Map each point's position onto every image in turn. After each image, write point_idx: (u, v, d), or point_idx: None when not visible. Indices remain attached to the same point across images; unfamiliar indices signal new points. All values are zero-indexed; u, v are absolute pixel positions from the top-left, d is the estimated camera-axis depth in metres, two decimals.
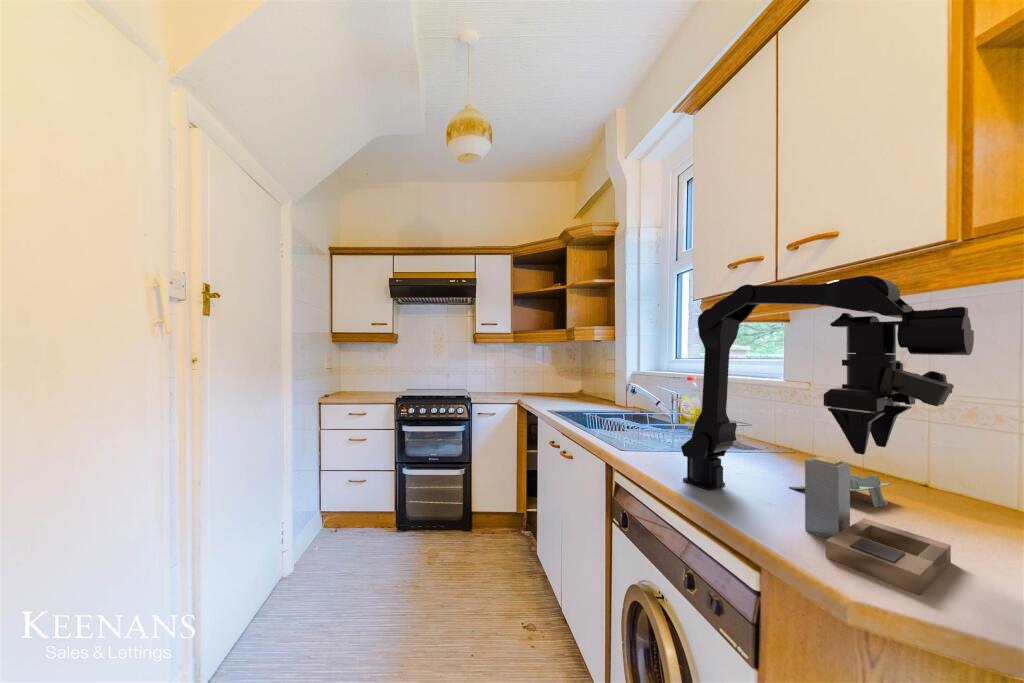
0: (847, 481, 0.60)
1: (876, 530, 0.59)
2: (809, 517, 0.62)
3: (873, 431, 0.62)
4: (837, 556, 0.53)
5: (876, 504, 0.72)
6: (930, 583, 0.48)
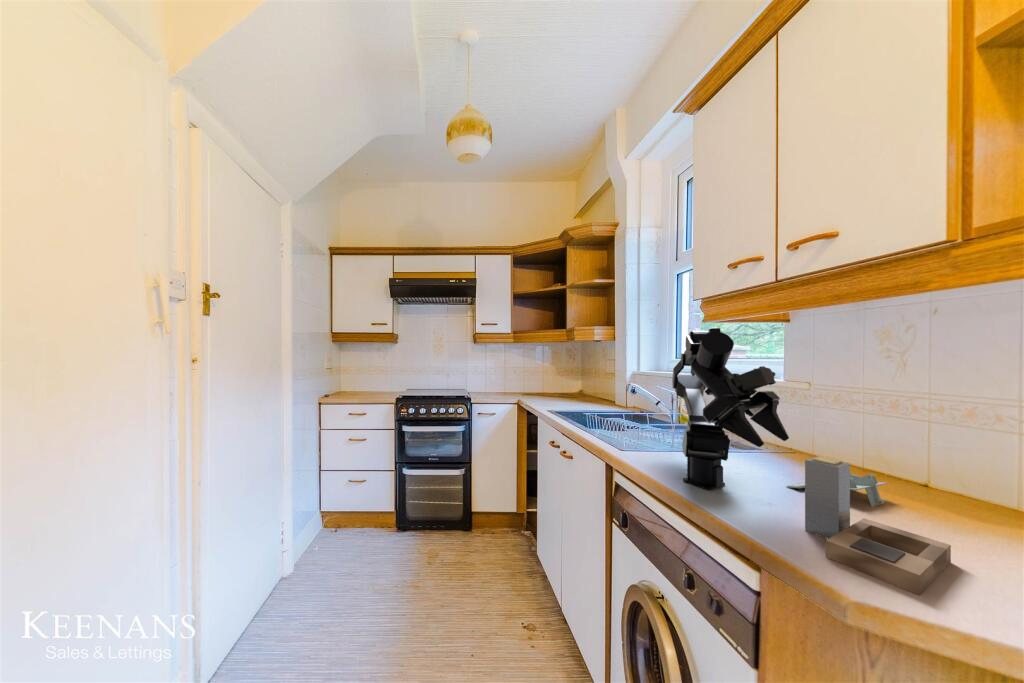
0: (847, 481, 0.60)
1: (876, 530, 0.59)
2: (809, 517, 0.62)
3: (773, 432, 0.73)
4: (837, 556, 0.53)
5: (873, 503, 0.73)
6: (930, 583, 0.48)
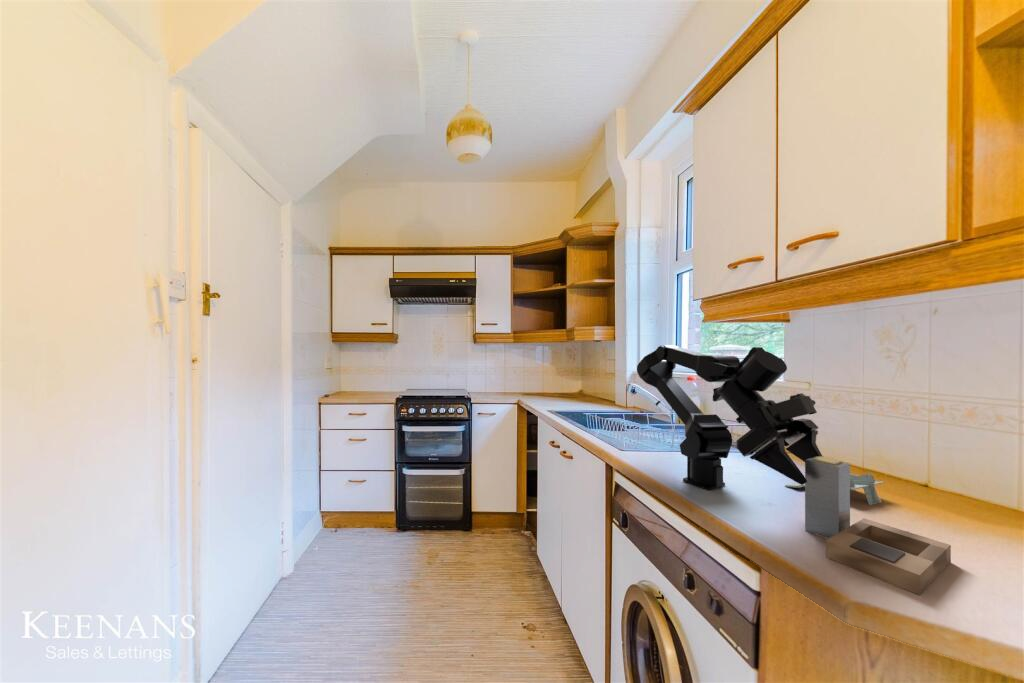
0: (847, 481, 0.60)
1: (876, 530, 0.59)
2: (809, 517, 0.62)
3: None
4: (837, 556, 0.53)
5: (871, 502, 0.73)
6: (930, 583, 0.48)
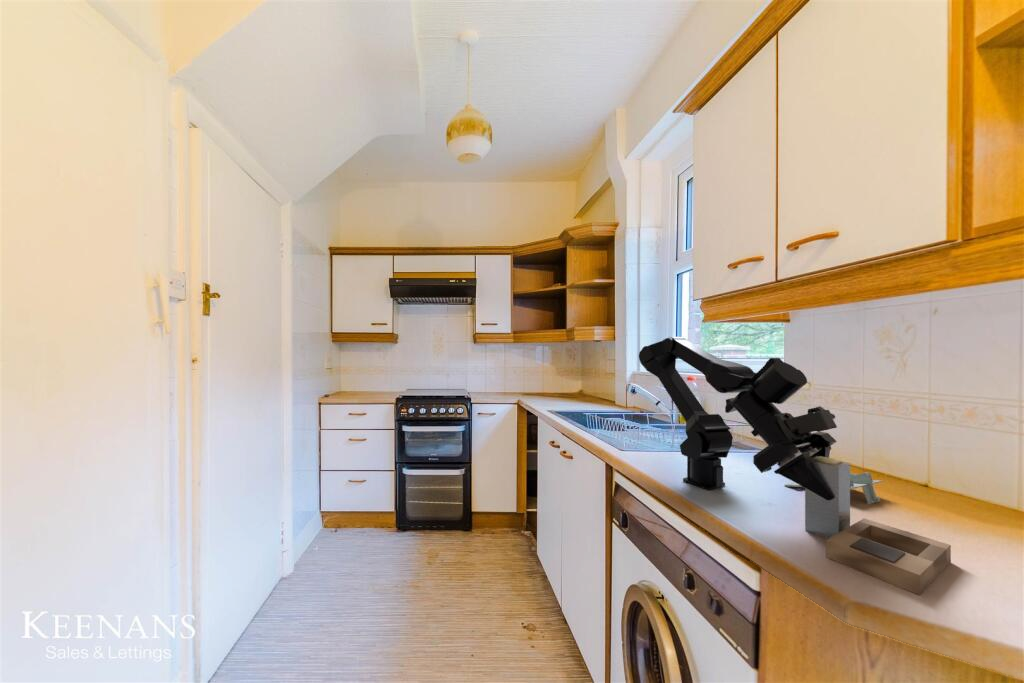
0: (847, 481, 0.60)
1: (876, 530, 0.59)
2: (809, 517, 0.62)
3: None
4: (837, 556, 0.53)
5: (869, 501, 0.74)
6: (930, 583, 0.48)
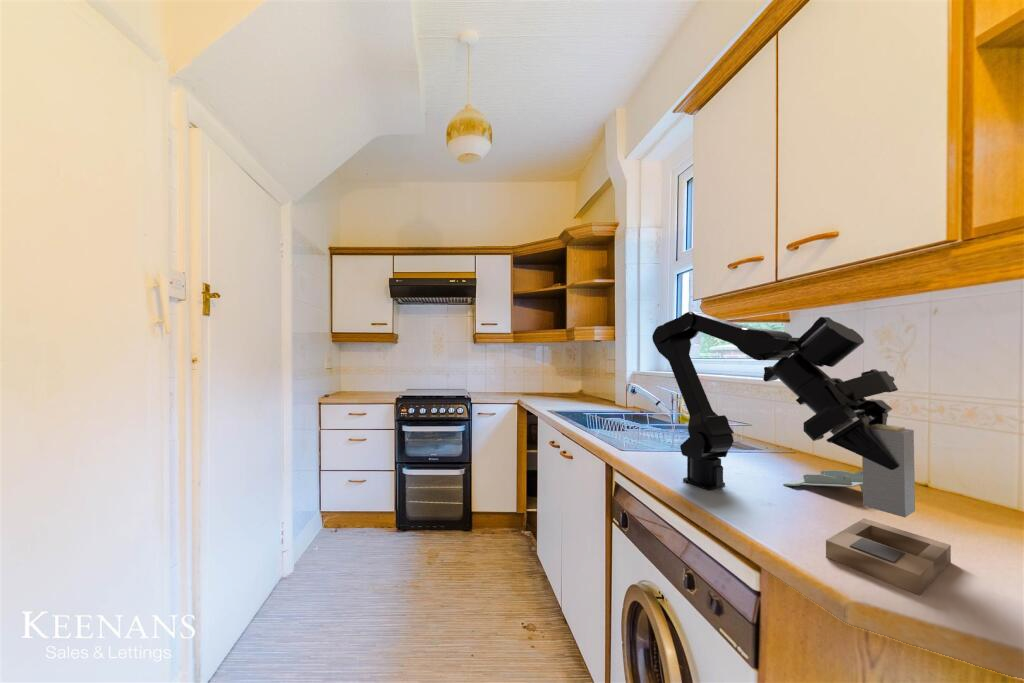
0: (911, 449, 0.54)
1: (876, 530, 0.59)
2: (868, 491, 0.55)
3: None
4: (837, 556, 0.53)
5: None
6: (930, 583, 0.48)
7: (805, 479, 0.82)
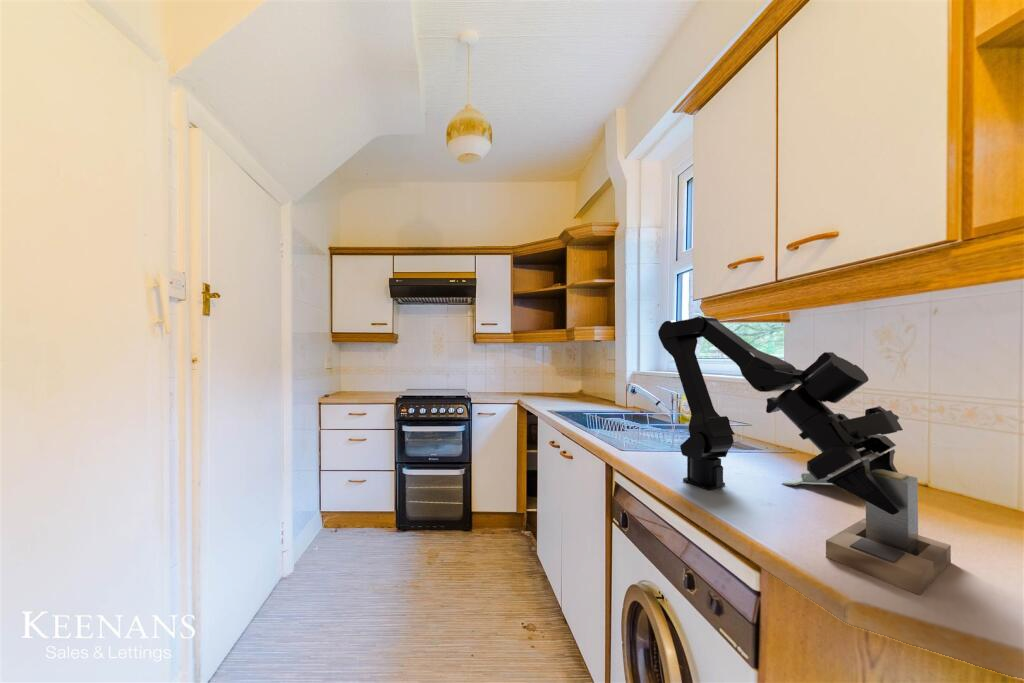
0: (915, 498, 0.53)
1: None
2: (871, 538, 0.55)
3: None
4: (837, 556, 0.53)
5: None
6: (930, 583, 0.48)
7: (803, 478, 0.83)
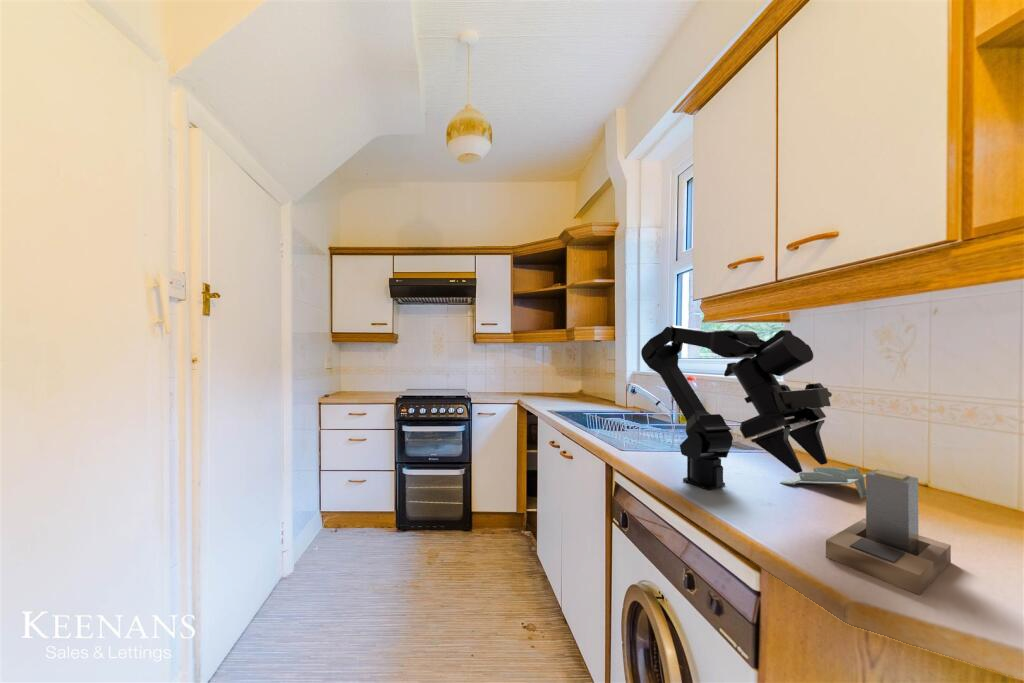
0: (915, 498, 0.53)
1: None
2: (871, 538, 0.55)
3: (810, 452, 0.67)
4: (837, 556, 0.53)
5: (861, 495, 0.77)
6: (930, 583, 0.48)
7: (801, 477, 0.84)
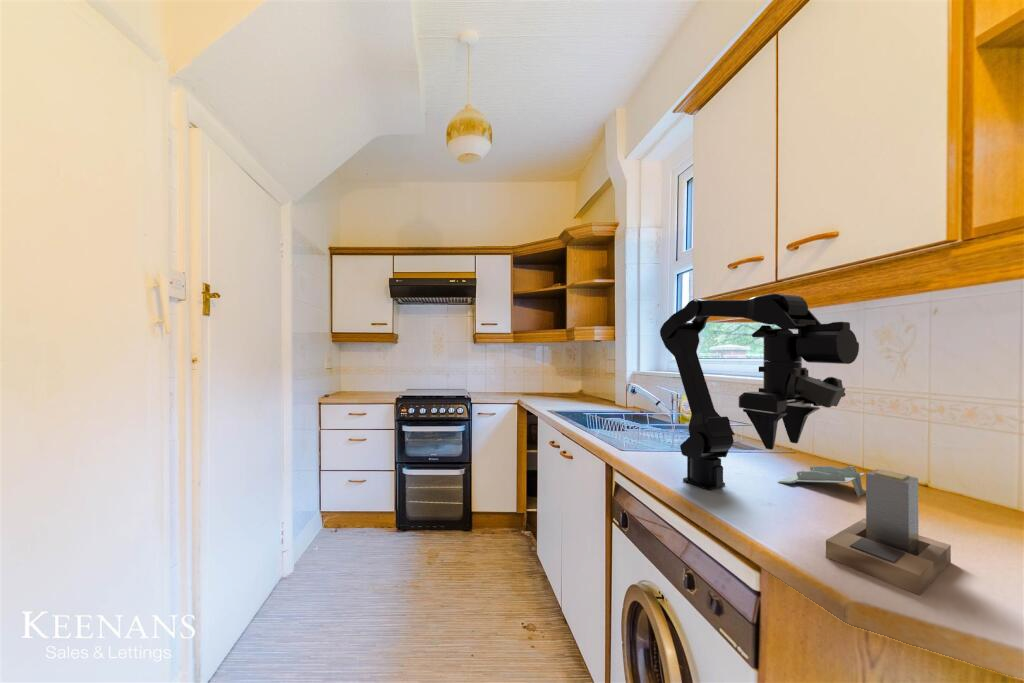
0: (915, 498, 0.53)
1: None
2: (871, 538, 0.55)
3: (788, 429, 0.70)
4: (837, 556, 0.53)
5: (858, 493, 0.77)
6: (930, 583, 0.48)
7: (799, 476, 0.84)
